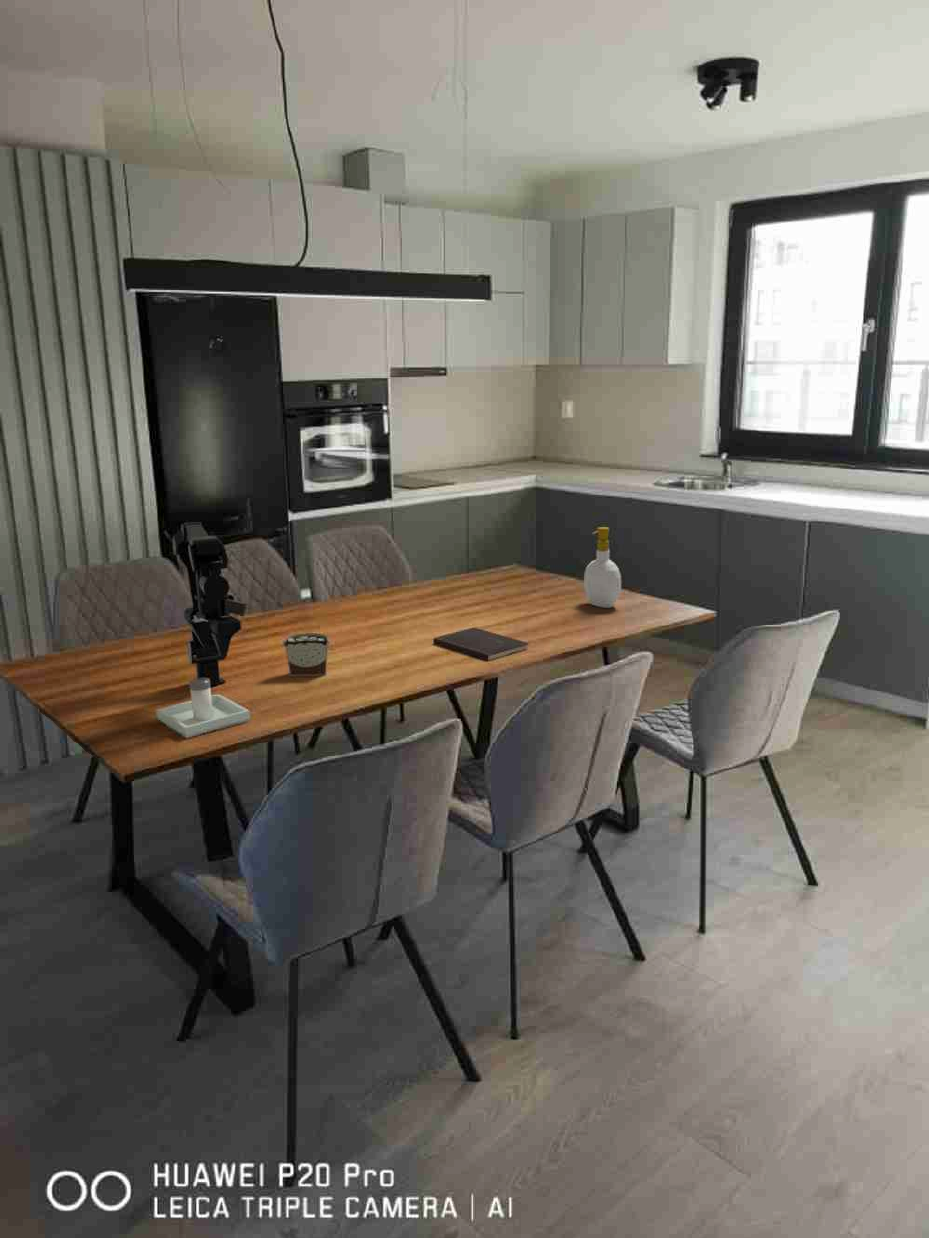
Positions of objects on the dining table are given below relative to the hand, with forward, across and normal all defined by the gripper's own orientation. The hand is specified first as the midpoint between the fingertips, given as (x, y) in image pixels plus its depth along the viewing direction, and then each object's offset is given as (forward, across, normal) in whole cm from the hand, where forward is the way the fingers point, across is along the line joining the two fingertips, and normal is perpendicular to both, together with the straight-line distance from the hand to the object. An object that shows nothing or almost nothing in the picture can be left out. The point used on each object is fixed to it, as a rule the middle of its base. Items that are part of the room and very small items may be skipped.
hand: (215, 653), depth 233 cm
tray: (+12, -10, +9) cm, 18 cm away
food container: (+12, +4, -28) cm, 31 cm away
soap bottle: (+12, -3, -135) cm, 136 cm away
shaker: (+11, -10, +9) cm, 18 cm away
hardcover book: (+13, -10, -76) cm, 78 cm away
